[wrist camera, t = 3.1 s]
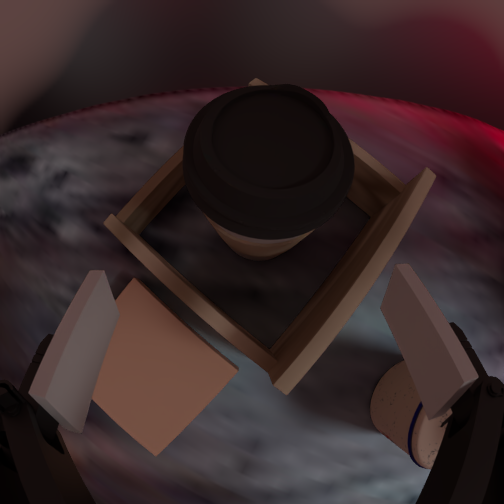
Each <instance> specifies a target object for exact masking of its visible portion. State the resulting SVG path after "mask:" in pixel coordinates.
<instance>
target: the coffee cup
mask: <svg viewBox="0 0 504 504" xmlns="http://www.w3.org/2000/svg"><path fill="white" fill-rule="evenodd" d="M182 167H183V176H184V180H185V184H186V187H187V189H188V191H189V193H190V195H191V197H192V199H193V200H194V202H195V203H196V205H197V206H198V207H199V208H200V210H201V211H202V212H203V213H204V215H205V216H206V218H207V219H208V221H209V222H210V223H211V225H212V226H213V227H214V229H215V230H216V231H217V233H218V234H219V235H220V237H221V238H222V239H223V240H224V241H225V242H226V243H227V244H228V246H229V247H230V248H231V249H232V250H233V251H234V252H235V253H237V254H238V255H240V256H242V257H244V258H246V259H250V260H255V261H264V260H269V259H272V258H275V257H277V256H279V255H280V254H282V253H284V252H286V251H288V250H289V249H291V248H292V247H293V246H295V245H296V244H297V243H299V242H300V241H301V240H302V239H304V238H305V237H306V236H307V235H309V234H310V233H311V232H313V231H314V230H315V229H316V228H317V227H319V226H321V225H322V224H323V223H325V222H326V221H327V220H328V219H330V218H331V217H332V216H333V215H334V214H335V212H336V211H337V210H338V209H339V207H340V206H341V204H342V203H343V201H344V199H345V197H346V196H347V194H348V192H349V190H350V188H351V185H352V182H353V178H354V170H355V162H354V154H353V150H352V146H351V144H350V141H349V139H348V137H347V135H346V133H345V131H344V130H343V128H342V127H341V125H340V124H339V123H338V121H337V120H336V119H335V118H334V117H333V116H332V115H331V114H330V113H329V111H328V109H327V107H326V106H325V104H324V103H323V102H322V101H321V100H320V99H319V98H318V97H316V96H315V95H313V94H312V93H310V92H309V91H307V90H305V89H303V88H301V87H298V86H295V85H290V84H282V85H256V86H249V87H244V88H240V89H236V90H233V91H230V92H227V93H225V94H223V95H221V96H219V97H217V98H215V99H214V100H212V101H211V102H209V103H208V104H207V105H206V106H204V107H203V108H202V109H201V110H200V111H199V112H198V114H197V115H196V116H195V117H194V119H193V120H192V122H191V124H190V126H189V128H188V130H187V133H186V136H185V140H184V147H183V161H182Z"/></svg>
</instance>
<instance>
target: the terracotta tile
mask: <svg viewBox="0 0 504 504" xmlns="http://www.w3.org/2000/svg"><path fill="white" fill-rule="evenodd" d="M115 303H116V305H117V308H118V311H119V313H120V316H119V319H118V321H117V324H116V327H115V329H114V332H113V335H112V337H111V340H110V343H109V346H108V349H107V352H106V354H105V357H104V360H103V363H102V366H101V369H100V372H99V376H98V379H97V382H96V385H95V388H94V392H93V395H92V399H93V400H94V401H95V402H96V403H97V404H98V405H99V406H100V407H101V408H102V409H103V410H104V411H105V412H106V413H107V414H108V415H109V416H110V417H111V418H112V419H113V420H114V421H115V422H116V423H117V424H118V425H119V426H121V427H122V428H123V429H124V430H125V431H126V432H127V433H128V434H130V435H131V436H132V437H133V438H134V439H135V440H137V441H138V442H139V443H140V444H141V445H142V446H144V447H145V448H146V449H147V450H149V451H150V452H151V453H152V454H154V455H155V456H157V455H158V454H159V453H160V452H161V451H162V450H163V449H164V448H165V447H166V446H167V445H168V444H169V443H170V442H171V441H172V440H173V439H174V438H175V437H176V436H177V435H178V434H179V433H180V432H181V431H182V430H183V429H184V428H185V427H186V426H187V425H188V424H189V423H190V422H191V421H192V420H193V419H194V418H195V417H196V416H197V415H198V414H199V413H200V412H201V411H202V410H203V409H204V408H205V407H206V406H207V405H208V404H209V403H210V401H211V400H212V399H213V398H214V397H215V396H216V395H217V394H218V393H219V392H220V391H221V390H222V389H223V387H224V386H225V385H226V384H227V383H228V382H229V381H230V380H231V379H232V378H233V376H234V375H235V374H236V373H237V372H238V371H239V367H237V366H236V365H235V364H234V363H232V362H231V361H230V360H229V359H228V358H226V357H225V356H224V355H223V354H221V353H220V352H219V351H218V350H217V349H215V348H214V347H213V346H212V345H211V344H210V343H208V342H207V341H206V340H205V339H204V338H203V337H201V336H200V335H199V334H198V333H197V332H196V331H194V330H193V329H192V328H191V327H190V326H189V325H188V324H187V323H185V322H184V321H183V320H182V319H181V318H180V317H179V316H178V315H177V314H176V313H174V312H173V311H172V310H171V309H170V308H169V307H168V306H167V305H166V304H165V303H164V302H163V301H162V300H160V299H159V298H158V297H157V296H156V295H155V294H154V293H153V292H152V291H151V290H150V289H149V288H148V287H147V286H146V285H145V284H144V283H143V282H142V281H141V280H140V279H137V278H133V279H132V281H131V282H130V283H129V284H128V285H127V287H126V288H125V289H124V290H123V292H122V293H121V294H120V295H119V297H118V298H117V299H116V300H115Z"/></svg>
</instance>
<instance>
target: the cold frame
mask: <svg viewBox="0 0 504 504" xmlns="http://www.w3.org/2000/svg"><path fill="white" fill-rule="evenodd" d="M256 85H267V84H266V83H264V82H262V81H260V80H259V79H257V78H255V79H254V80H253V81H251V82H250V83H249V86H256ZM348 139H349V138H348ZM349 141H350V144H351V146H352V150H353V154H354V162H355V170H354V178H353V182H352V185H351V188H350V190H349V192H348V194H347V196H346V197H347V198H349V199H350V200H351V201H352V202H353V203H355V204H356V205H357V206H358V207H359V208H361V209H362V210H363V211H364V212H365V213H366V214H368V215H369V216H370V217H371V218H370V219H369V221H368V222H367V223H366V225H365V226H364V228H363V229H362V231H361V232H360V233H359V235H358V236H357V238H356V239H355V241H354V242H353V243H352V245H351V246H350V248H349V249H348V250H347V252H346V253H345V254H344V256H343V257H342V259H341V260H340V261H339V263H338V264H337V265H336V267H335V268H334V269H333V271H332V272H331V273H330V275H329V276H328V277H327V279H326V280H325V281H324V283H323V284H322V285H321V286H320V288H319V289H318V290H317V292H316V293H315V294H314V295H313V297H312V298H311V299H310V301H309V302H308V303H307V304H306V306H305V307H304V308H303V309H302V311H301V312H300V313H299V314H298V316H297V317H296V318H295V319H294V321H293V322H292V323H291V324H290V325H289V327H288V328H287V329H286V330H285V332H284V333H283V334H282V335H281V336H280V338H279V339H278V340H277V341H276V342H275V343H274V345H273V346H272V347H271V348H270V349H269V348H267V347H266V346H265V345H264V344H262V343H261V342H260V341H259V340H257V339H256V338H255V337H254V336H252V335H251V334H250V333H249V332H248V331H246V330H245V329H244V328H243V327H242V326H240V325H239V324H238V323H237V322H236V321H234V320H233V319H232V318H231V317H230V316H228V315H227V314H226V313H225V312H224V311H222V310H221V309H220V308H219V307H218V306H217V305H215V304H214V303H213V302H212V301H211V300H210V299H209V298H207V297H206V296H205V295H204V294H203V293H202V292H201V291H199V290H198V289H197V288H196V287H195V286H194V285H193V284H192V283H190V282H189V281H188V280H187V279H186V278H185V277H184V276H183V275H181V274H180V273H179V272H178V271H177V270H176V269H175V268H174V267H173V266H172V265H171V264H169V263H168V262H167V261H166V260H165V259H164V258H163V257H162V256H161V255H160V254H159V253H158V252H157V251H155V250H154V249H153V248H152V247H151V246H150V245H149V244H148V243H147V242H146V241H145V240H144V239H143V238H142V237H141V236H140V235H139V234H140V233H141V232H142V231H143V230H144V229H145V228H146V226H147V225H148V224H149V223H150V222H151V221H152V220H153V219H154V217H155V216H156V215H157V214H158V213H159V212H160V211H161V210H162V209H163V208H164V206H165V205H166V204H167V203H168V202H169V201H170V200H171V199H172V198H173V197H174V196H175V195H176V194H177V193H178V191H179V190H180V189H181V188H182V187H183V186H184V185H185V180H184V176H183V167H182V161H183V147H184V146H183V147H182V148H180V149H179V150H178V151H177V152H176V153H175V154H174V155H173V156H172V157H171V158H170V159H169V160H168V161H167V162H166V163H165V164H164V165H163V166H162V167H161V168H160V169H159V170H158V171H157V172H156V173H155V174H154V175H153V176H152V177H151V178H150V179H149V180H148V181H147V183H146V184H145V185H144V186H143V187H142V188H141V189H140V190H139V191H138V192H137V193H136V194H135V195H134V197H133V198H132V199H131V200H130V201H129V202H128V203H127V204H126V205H125V207H124V208H123V209H122V210H121V211H120V212H119V213H118V214H117V216H114V215H113V214H112V213H111V214H110V216H109V217H108V218H107V219H106V220H105V222H104V223H103V224H104V225H105V226H106V227H107V228H108V229H109V230H110V231H111V232H112V233H113V234H114V235H115V236H116V237H117V238H118V239H119V240H120V241H121V242H122V244H123V245H124V246H125V247H126V248H127V249H128V250H129V251H130V252H131V253H132V254H133V255H134V256H135V257H136V258H137V259H138V260H139V261H140V262H141V263H143V264H144V265H145V266H146V267H147V268H148V269H149V270H150V271H151V272H152V273H153V274H154V275H155V276H156V277H157V278H158V279H159V280H160V281H161V282H162V283H163V284H164V285H166V286H167V287H168V288H169V289H170V290H171V291H172V292H173V293H174V294H175V295H176V296H177V297H178V298H180V299H181V300H182V301H183V302H184V303H185V304H186V305H187V306H188V307H190V308H191V309H192V310H193V311H194V312H195V313H196V314H197V315H199V316H200V317H201V318H202V319H203V320H204V321H205V322H207V323H208V324H209V325H210V326H211V327H212V328H214V329H215V330H216V331H217V332H218V333H219V334H221V335H222V336H223V337H224V338H225V339H227V340H228V341H229V342H230V343H231V344H233V345H234V346H235V347H236V348H238V349H239V350H240V351H241V352H242V353H244V354H245V355H246V356H247V357H249V358H250V359H251V360H252V361H254V362H255V363H256V364H258V365H259V366H260V367H261V368H263V369H264V370H265V371H266V372H268V374H269V376H270V379H271V381H272V384H273V386H275V387H276V388H277V389H279V390H280V391H281V392H283V393H284V394H285V395H288V394H289V392H290V391H291V390H292V389H293V388H294V387H295V386H296V384H297V383H298V382H299V381H300V380H301V379H302V378H303V376H304V375H305V374H306V373H307V372H308V370H309V369H310V368H311V367H312V366H313V364H314V363H315V362H316V361H317V360H318V358H319V357H320V356H321V355H322V353H323V352H324V351H325V350H326V348H327V347H328V346H329V345H330V343H331V342H332V341H333V339H334V338H335V337H336V335H337V334H338V333H339V332H340V330H341V329H342V328H343V326H344V325H345V324H346V322H347V321H348V320H349V318H350V317H351V315H352V314H353V313H354V311H355V310H356V308H357V307H358V306H359V304H360V303H361V301H362V300H363V299H364V297H365V296H366V294H367V293H368V291H369V290H370V288H371V287H372V285H373V284H374V282H375V281H376V279H377V278H378V276H379V275H380V273H381V272H382V270H383V269H384V267H385V266H386V264H387V263H388V261H389V259H390V258H391V256H392V255H393V253H394V251H395V250H396V248H397V246H398V245H399V243H400V242H401V240H402V238H403V237H404V235H405V233H406V231H407V230H408V228H409V226H410V225H411V223H412V221H413V219H414V217H415V216H416V214H417V212H418V210H419V208H420V207H421V205H422V203H423V201H424V199H425V197H426V195H427V194H428V192H429V190H430V188H431V186H432V184H433V182H434V180H435V178H436V175H435V174H434V173H433V172H432V171H431V170H430V169H429V168H427V167H426V168H425V169H424V170H423V171H422V172H420V173H419V174H418V175H417V176H416V177H415V178H413V179H412V180H411V181H410V182H409V183H408V184H406V185H405V184H404V183H403V182H402V181H400V180H399V179H398V178H397V177H396V176H395V175H394V174H392V173H391V172H390V171H389V170H388V169H387V168H385V167H384V166H383V165H382V164H381V163H379V162H378V161H377V160H376V159H375V158H373V157H372V156H371V155H370V154H368V153H367V152H366V151H365V150H363V149H362V148H361V147H360V146H358V145H357V144H356V143H354V142H353V141H352V140H350V139H349Z"/></svg>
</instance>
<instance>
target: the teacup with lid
mask: <svg viewBox="0 0 504 504" xmlns="http://www.w3.org/2000/svg"><path fill="white" fill-rule="evenodd" d="M370 414H371V419H372V422H373V424H374V426H375V427H376V428H377V430H379V431H380V432H381V433H382V434H383V435H384V436H386V437H387V438H388V439H389V440H391V441H392V442H393V443H394V444H396V445H397V446H398V447H400V448H401V449H402V450H403V451H405V452H406V453H407V454H408V455H410V457H411V459H412V460H413V462H414V463H415V464H416V465H418V466H419V467H422V468H425V469H432V466H433V464H434V461H435V458H436V456H437V453H438V450H439V448H440V445H441V442H442V439H443V436H444V433H445V430H446V429H445V428H446V427H447V424H446V425H444V426H443V427H440V426H441V424H442V423H443V422H444V421H445V420H446V419H447V418H448V417H449V416H450V415H451V414H452V410H451V408H450V409H449V410H448V411H447V412H446V413H445V414H444V415H443V416H440V417H437V418H434V419H432V420H428V417H427V415H426V412H425V409H424V407H423V404H422V402H421V399H420V396H419V394H418V391H417V389H416V386H415V384H414V382H413V379H412V377H411V374H410V372H409V370H408V367H407V365H406V363H405V360H404V361H401V362H399V363H398V364H396V365H394V366H393V367H392V368H390V369H389V370H388V371H387V372H386V373H385V374H384V375H383V377H382V378H381V379H380V381H379V382H378V384H377V386H376V388H375V390H374V392H373V395H372V399H371V405H370Z"/></svg>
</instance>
